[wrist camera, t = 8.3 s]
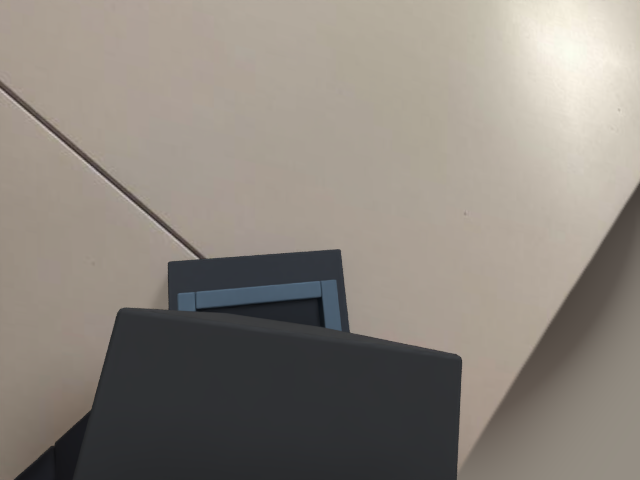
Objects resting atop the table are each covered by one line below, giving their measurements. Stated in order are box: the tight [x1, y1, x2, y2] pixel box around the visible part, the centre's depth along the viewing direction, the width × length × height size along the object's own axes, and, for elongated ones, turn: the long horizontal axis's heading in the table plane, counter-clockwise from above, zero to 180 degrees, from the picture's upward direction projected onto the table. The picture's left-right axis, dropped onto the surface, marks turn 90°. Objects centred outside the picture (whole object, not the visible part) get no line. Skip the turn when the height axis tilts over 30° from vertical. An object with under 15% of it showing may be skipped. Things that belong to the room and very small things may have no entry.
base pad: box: [168, 249, 350, 333], centre depth 17 cm, size 11×9×2 cm
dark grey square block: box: [73, 308, 462, 480], centre depth 10 cm, size 4×4×12 cm
